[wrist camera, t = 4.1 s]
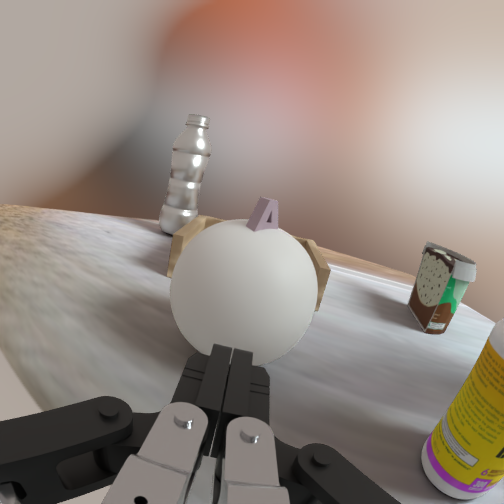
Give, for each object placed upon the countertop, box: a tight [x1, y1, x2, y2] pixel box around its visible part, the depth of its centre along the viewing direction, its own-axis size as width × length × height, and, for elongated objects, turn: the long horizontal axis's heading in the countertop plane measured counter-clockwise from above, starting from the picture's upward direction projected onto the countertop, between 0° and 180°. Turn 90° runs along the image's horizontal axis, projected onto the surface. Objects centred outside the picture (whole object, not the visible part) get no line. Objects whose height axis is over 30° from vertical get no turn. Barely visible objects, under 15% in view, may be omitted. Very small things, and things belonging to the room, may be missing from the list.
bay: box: [167, 215, 331, 311], centre depth 41 cm, size 17×14×5 cm
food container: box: [407, 241, 476, 334], centre depth 37 cm, size 12×6×10 cm, turn 168°
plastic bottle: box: [159, 114, 211, 235], centre depth 50 cm, size 6×7×20 cm
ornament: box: [170, 197, 318, 366], centre depth 22 cm, size 10×10×12 cm
